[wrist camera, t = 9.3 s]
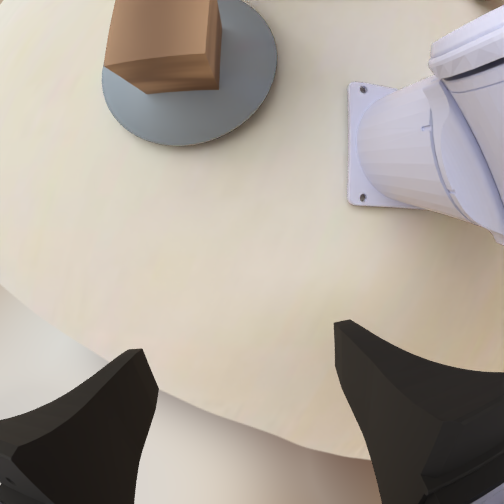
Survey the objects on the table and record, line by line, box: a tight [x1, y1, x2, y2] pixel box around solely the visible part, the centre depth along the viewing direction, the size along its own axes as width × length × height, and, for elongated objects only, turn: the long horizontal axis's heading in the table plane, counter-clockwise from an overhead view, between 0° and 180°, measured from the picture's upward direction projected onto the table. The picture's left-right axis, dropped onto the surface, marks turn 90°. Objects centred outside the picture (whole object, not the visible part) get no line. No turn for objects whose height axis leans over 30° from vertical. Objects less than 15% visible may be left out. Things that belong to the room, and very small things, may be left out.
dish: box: [102, 0, 277, 146], centre depth 15 cm, size 11×11×1 cm
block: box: [104, 0, 222, 94], centre depth 12 cm, size 4×4×6 cm
